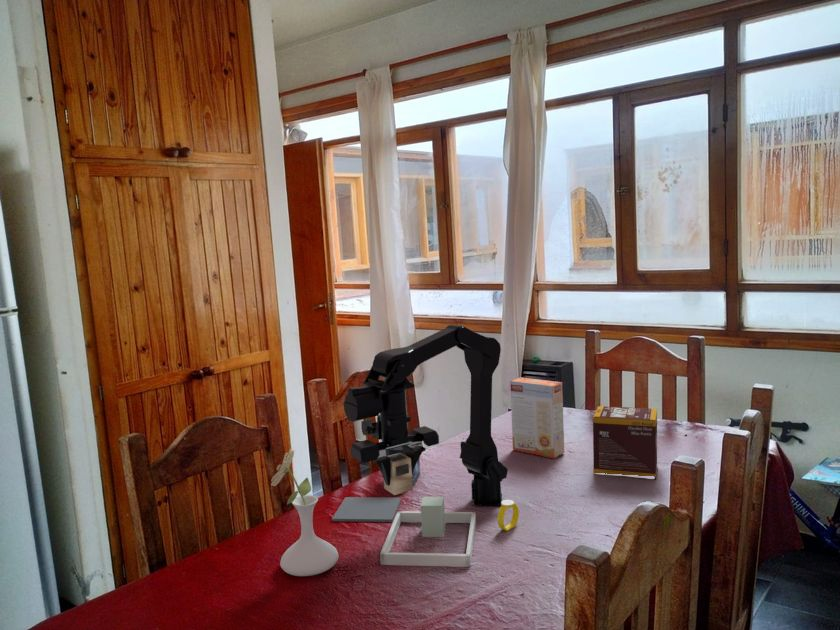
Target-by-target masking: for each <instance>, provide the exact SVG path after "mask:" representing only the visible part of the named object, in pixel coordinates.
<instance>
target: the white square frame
mask: <svg viewBox="0 0 840 630" xmlns="http://www.w3.org/2000/svg"><path fill="white" fill-rule="evenodd" d="M476 513H477V512H476V511H445V524H448V523H449V524H454V523H455V524H470V525H469V529H468V530H469V531H468V538H467V546H466V552H465V553H440V552H439V553H434V552H433V553H432V552H429V553H428V552H390V551H391V549H392V546H393V544H394V541H395V539H396V537H397V533H398V531H399V529H400V526H401V523H421V510H420V511H413V510H411V511H410V510H409V511H407V510H397V512H396V514H395V517H394V519H393V522H392V524H391V526H390V529H389V532H388V534H387V537H386V539H385V541H384V544H383V546H382V549H381V550H380V553H379V559H380V560H379V561H380V566H407V567H409V566H412V567H413V566H414V567H415V566H416V567H417V566H419V567H451V568H452V567H453V568H454V567H456V568H458V567H459V568H471V564H472V556H473V547H474V543H475V534H476V526H477V514H476Z"/></svg>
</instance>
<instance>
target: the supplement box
mask: <svg viewBox="0 0 840 630" xmlns="http://www.w3.org/2000/svg"><path fill="white" fill-rule="evenodd" d="M592 434H593V436H592V442H593V443H592V444H593V446H592V448H593V449H592V450H593V459H592V461H593V471H592V472H593V473H605V474H606V473H607V474H622V475H638V476H654V477H656V478H657V473H656V471H657V470H658V410H657V408H643V407H627V406H626V407H625V406H603V405H601V406H599V405H598V406H597V407H596V410H595V411H594V415H593V417H592ZM657 472H658V471H657Z"/></svg>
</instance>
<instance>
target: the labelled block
mask: <svg viewBox="0 0 840 630" xmlns="http://www.w3.org/2000/svg"><path fill="white" fill-rule="evenodd" d="M387 456H388V455H387ZM388 457H390V473H391V480H390V485H389V486H388V485H386V483H385V481H384V480H383V488H384V490H386V491H387V492H389V493H390V494H392V495H393V496H396V495H400V494H403V493H406V492H410V491H411V492H412V491H413V490H414V488H413V487H414V486H413V485H412V468H411V458H409V457H408V456H406V455H404V454H402V453H397V454H393V455H390V456H388Z"/></svg>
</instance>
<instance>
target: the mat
mask: <svg viewBox="0 0 840 630" xmlns="http://www.w3.org/2000/svg"><path fill="white" fill-rule="evenodd" d="M401 502H402V497H378V496H376V497H375V496H373V497H370V496H367V497H362V496H360V497H359V496H356V497H355V496H348V497H347V496H345V497H344V498H343V500H342V501H341V503H340V505H339V507H338V508H337V510H336V512H335V513H334V514H333V516H332V518H331V521H332V522H356V523H357V522H362V523H363V522H365V523H366V522H367V523H370V522H372V523H376V522H377V523H378V522H379V523H381V522H382V523H393V521H394V519H395V516H396V514H397V512H398V511H399V510H398V509H399V507H400V505H401Z"/></svg>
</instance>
